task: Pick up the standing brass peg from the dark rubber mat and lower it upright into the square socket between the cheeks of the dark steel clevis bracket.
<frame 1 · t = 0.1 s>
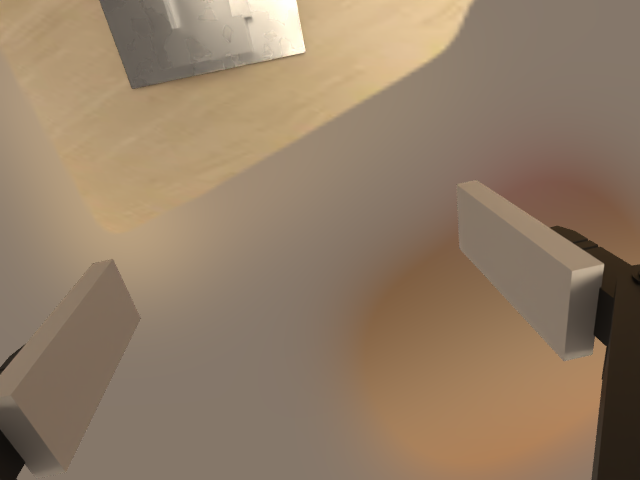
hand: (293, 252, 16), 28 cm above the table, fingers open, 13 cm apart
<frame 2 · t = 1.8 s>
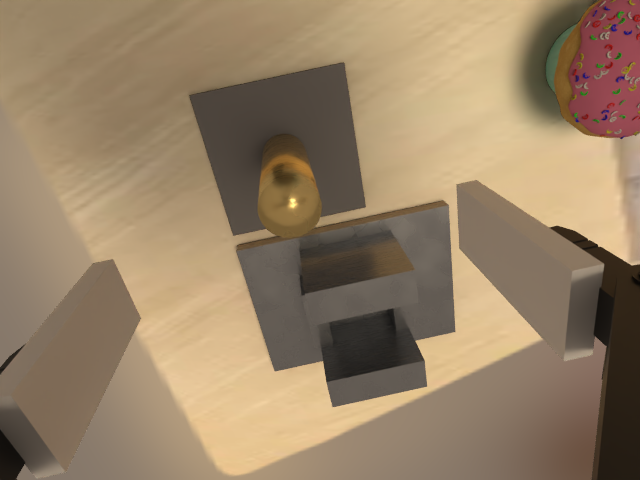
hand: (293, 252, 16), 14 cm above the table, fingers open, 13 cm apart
cupcake: (578, 60, 28), on the table
mat: (284, 154, 29), on the table
peg: (284, 155, 28), resting on mat
bracket: (352, 288, 34), on the table
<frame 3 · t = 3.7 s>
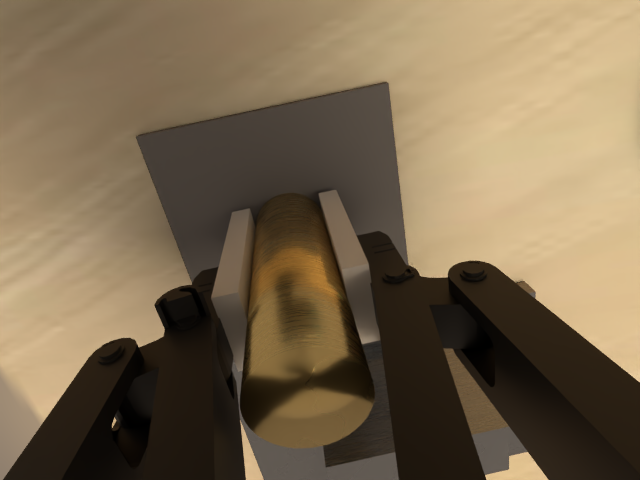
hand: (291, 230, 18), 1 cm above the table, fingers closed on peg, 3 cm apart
mat: (290, 222, 18), on the table
peg: (290, 225, 18), resting on mat, touching gripper
bracket: (386, 398, 24), on the table
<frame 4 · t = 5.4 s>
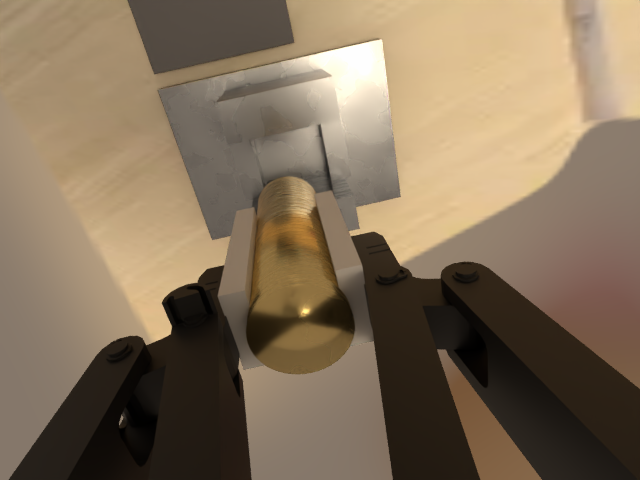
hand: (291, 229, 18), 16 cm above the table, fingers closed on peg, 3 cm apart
peg: (288, 205, 20), point 13 cm above the table, touching gripper
bracket: (289, 145, 32), on the table
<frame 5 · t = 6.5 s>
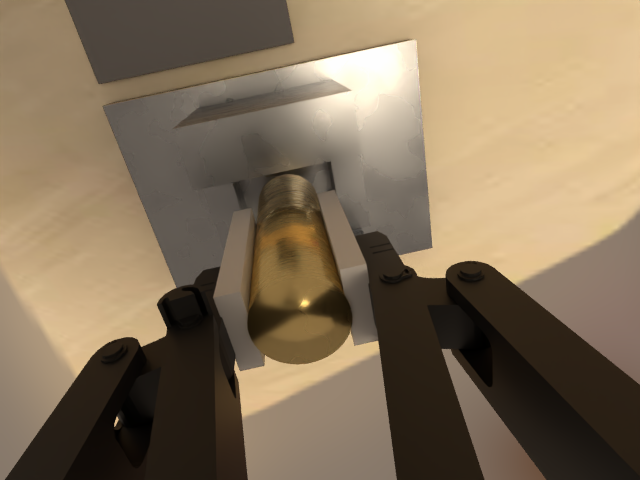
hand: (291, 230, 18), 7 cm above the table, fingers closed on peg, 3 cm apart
peg: (288, 202, 21), point 4 cm above the table, touching gripper
bracket: (286, 180, 24), on the table
when the fingers open (5 cm above the table, at t = 7.2 s): peg stays where it is, resting on bracket.
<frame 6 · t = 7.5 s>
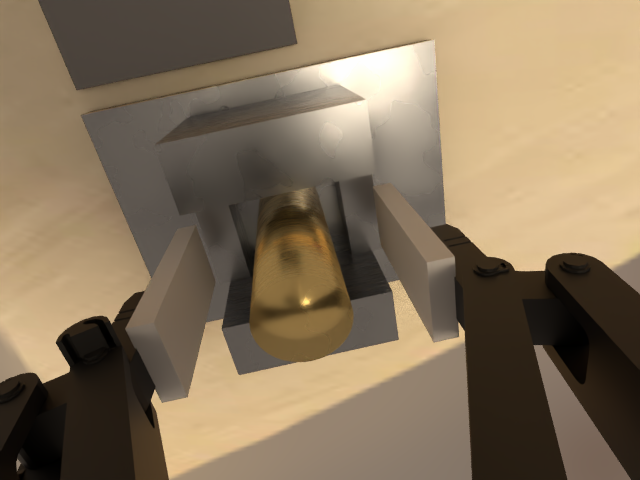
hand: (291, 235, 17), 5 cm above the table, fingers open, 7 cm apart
peg: (289, 201, 21), point 1 cm above the table, touching bracket
bracket: (287, 195, 22), on the table
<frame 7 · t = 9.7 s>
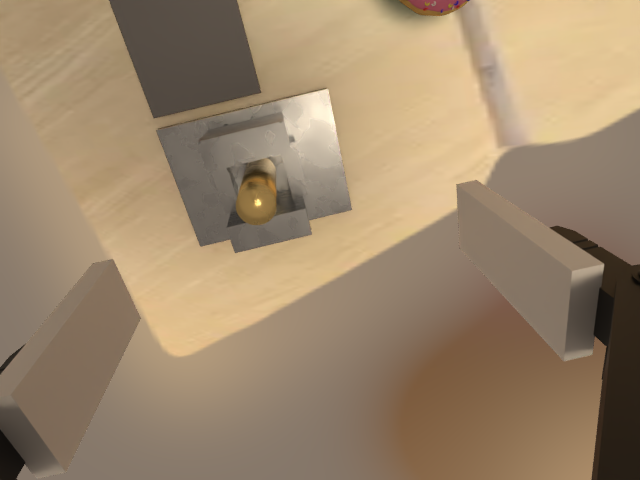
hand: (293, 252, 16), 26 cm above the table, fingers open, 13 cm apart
mat: (189, 46, 36), on the table
peg: (260, 172, 40), point 1 cm above the table, touching bracket
bracket: (260, 170, 41), on the table
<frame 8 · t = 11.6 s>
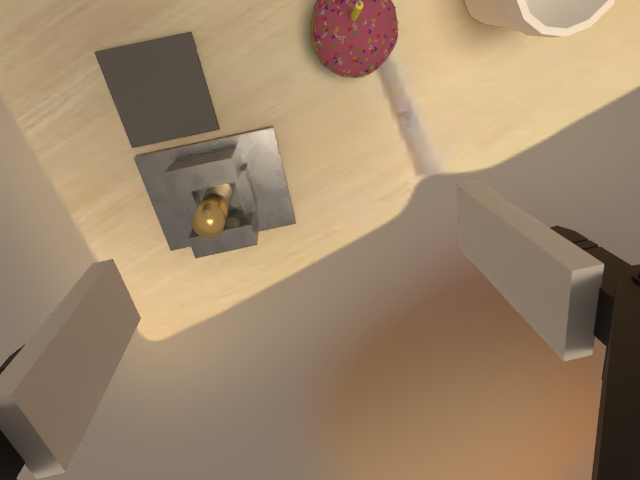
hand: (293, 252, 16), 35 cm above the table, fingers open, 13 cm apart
cupcake: (346, 31, 44), on the table
mat: (160, 92, 45), on the table
peg: (219, 192, 49), point 1 cm above the table, touching bracket
bracket: (220, 189, 50), on the table
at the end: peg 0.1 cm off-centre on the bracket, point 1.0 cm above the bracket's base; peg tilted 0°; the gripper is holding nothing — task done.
